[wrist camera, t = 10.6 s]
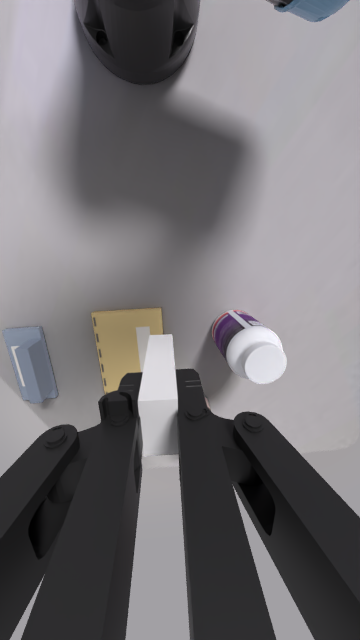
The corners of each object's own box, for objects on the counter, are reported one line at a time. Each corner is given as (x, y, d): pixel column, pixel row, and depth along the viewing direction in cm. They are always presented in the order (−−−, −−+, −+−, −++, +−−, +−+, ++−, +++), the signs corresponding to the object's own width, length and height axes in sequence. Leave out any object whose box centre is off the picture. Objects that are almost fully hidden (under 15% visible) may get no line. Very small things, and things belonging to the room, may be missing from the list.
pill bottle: (216, 353, 43) (241, 400, 29) (205, 315, 40) (227, 347, 27) (256, 341, 43) (300, 382, 29) (248, 302, 40) (292, 328, 26)
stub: (6, 328, 38) (-17, 339, 33) (41, 326, 38) (24, 336, 34) (26, 396, 42) (9, 415, 37) (58, 394, 43) (45, 412, 38)
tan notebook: (93, 311, 39) (90, 313, 37) (161, 307, 39) (161, 309, 38) (107, 398, 44) (106, 402, 43) (167, 393, 44) (167, 397, 43)
